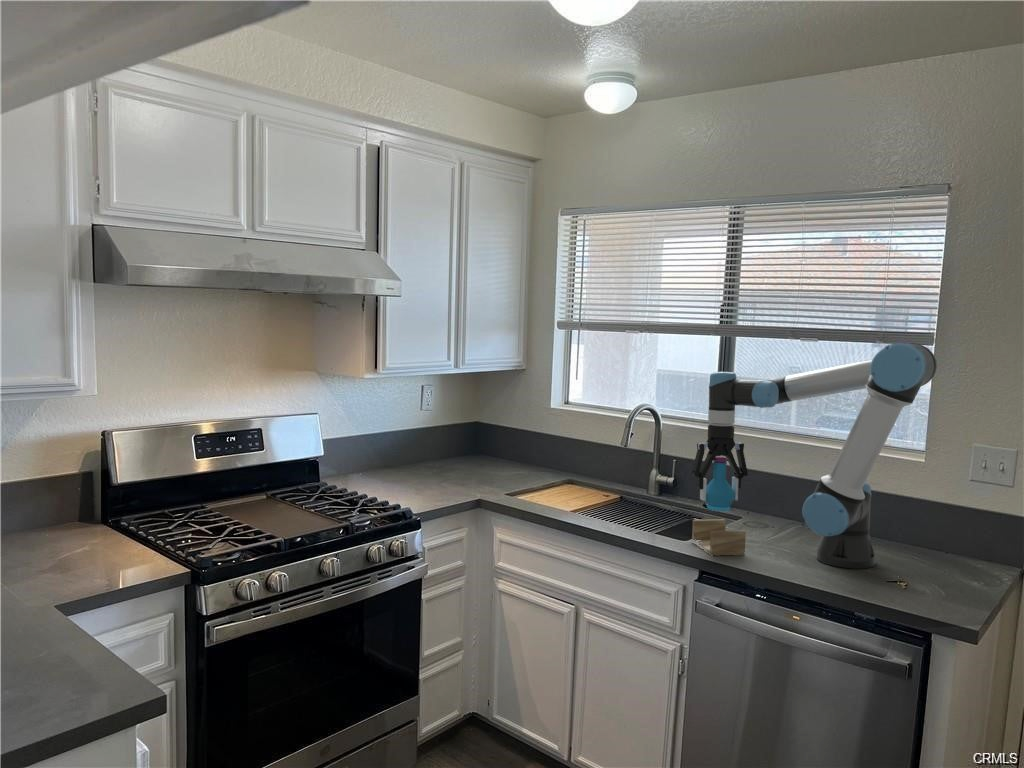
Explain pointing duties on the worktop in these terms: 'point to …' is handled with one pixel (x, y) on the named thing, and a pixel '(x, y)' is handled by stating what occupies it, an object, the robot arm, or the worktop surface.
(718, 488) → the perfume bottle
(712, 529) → the holder
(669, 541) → the worktop surface
